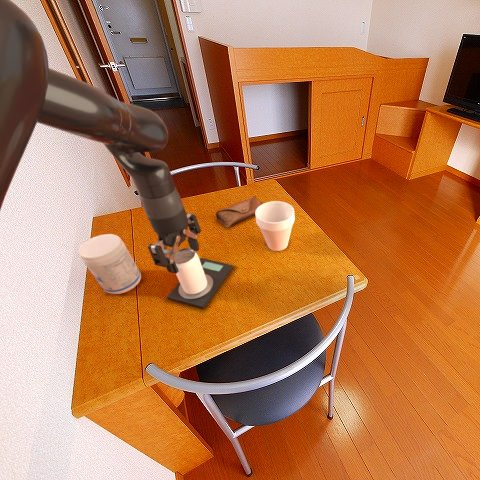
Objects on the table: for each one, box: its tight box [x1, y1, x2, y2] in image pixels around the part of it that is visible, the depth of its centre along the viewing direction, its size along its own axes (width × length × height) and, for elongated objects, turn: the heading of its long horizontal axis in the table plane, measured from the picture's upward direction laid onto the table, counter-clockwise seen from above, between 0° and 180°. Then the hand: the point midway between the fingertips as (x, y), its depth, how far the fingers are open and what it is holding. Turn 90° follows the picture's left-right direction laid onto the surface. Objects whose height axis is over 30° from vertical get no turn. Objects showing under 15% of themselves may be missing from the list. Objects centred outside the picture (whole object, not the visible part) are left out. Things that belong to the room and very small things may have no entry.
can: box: [174, 247, 207, 294], centre depth 74 cm, size 6×6×12 cm
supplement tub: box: [77, 233, 142, 295], centre depth 75 cm, size 10×10×15 cm
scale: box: [166, 257, 234, 310], centre depth 80 cm, size 16×11×2 cm
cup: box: [254, 200, 296, 252], centre depth 90 cm, size 12×12×14 cm
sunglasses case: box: [215, 196, 263, 228], centre depth 106 cm, size 18×7×7 cm, turn 135°
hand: (185, 260), depth 71 cm, fingers open, 8 cm apart
